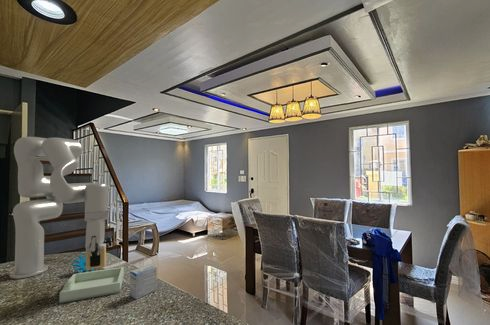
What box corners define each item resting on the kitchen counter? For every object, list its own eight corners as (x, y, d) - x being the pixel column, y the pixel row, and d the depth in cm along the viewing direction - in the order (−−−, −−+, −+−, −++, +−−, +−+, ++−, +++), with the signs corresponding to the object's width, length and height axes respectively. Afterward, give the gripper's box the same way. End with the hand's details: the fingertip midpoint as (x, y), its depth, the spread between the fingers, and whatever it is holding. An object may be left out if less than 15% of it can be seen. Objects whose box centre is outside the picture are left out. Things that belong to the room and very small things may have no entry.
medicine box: (149, 287, 91) (149, 264, 91) (156, 290, 88) (157, 266, 88) (129, 296, 84) (129, 271, 84) (136, 299, 82) (136, 274, 82)
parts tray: (73, 283, 95) (73, 274, 95) (124, 275, 102) (124, 266, 102) (59, 303, 80) (59, 292, 80) (119, 292, 87) (119, 282, 87)
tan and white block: (87, 266, 91) (88, 245, 92) (105, 264, 94) (105, 243, 94) (85, 270, 88) (85, 248, 89) (104, 267, 90) (104, 245, 91)
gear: (73, 274, 99) (73, 252, 105) (69, 282, 101) (70, 260, 107) (103, 270, 106) (102, 250, 112) (99, 277, 109) (98, 257, 115)
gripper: (89, 213, 98) (89, 258, 97) (79, 220, 83) (78, 274, 82) (110, 211, 101) (110, 255, 100) (104, 218, 86) (103, 270, 85)
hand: (96, 263), depth 91 cm, fingers closed on tan and white block, 3 cm apart
